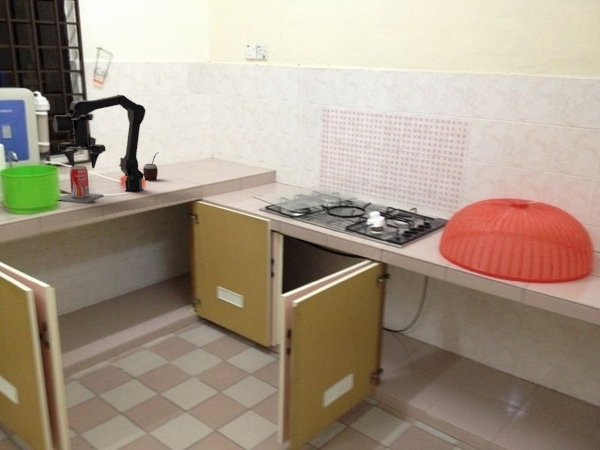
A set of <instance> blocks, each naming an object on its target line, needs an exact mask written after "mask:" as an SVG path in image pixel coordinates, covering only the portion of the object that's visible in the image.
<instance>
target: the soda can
mask: <svg viewBox="0 0 600 450" xmlns="http://www.w3.org/2000/svg"><path fill="white" fill-rule="evenodd" d="M88 171H89V170H88V168H87V166H86V165H85V166H84V165H74V166H73V167H72V166H70V169H69V178H70V179H69V181H70V191H71V194H72V196H73V197H74V198H86V197H88V196H89V193H90V187H89V185H90V183H89V172H88Z"/></svg>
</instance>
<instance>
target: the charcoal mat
mask: <svg viewBox="0 0 600 450" xmlns="http://www.w3.org/2000/svg"><path fill="white" fill-rule="evenodd" d="M60 197H61V199H60V200H61V201H60V202H69V203H78V204H89V203H91V202H93V201H95V200H97V199H100V198H102V197H104V194H103V193H102V194H100V193H90V192H89V196H88V197H86V198H74V197H73V196H72V194H71V193H70V192H69V193H68V194H66V195H63V196H60Z"/></svg>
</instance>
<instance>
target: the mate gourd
mask: <svg viewBox="0 0 600 450" xmlns="http://www.w3.org/2000/svg"><path fill="white" fill-rule="evenodd" d="M158 154H160V153H159V152H156V153H155V154H154V155H153V157H152V161H151V163H145V164H144V165H143V169H142V173H143V174H144V176H143V179H145V180H144V181H149V182H152V181H157V180H158V179H157V178H158V171H159V170H158V166H157V165H156V164H155V163H154V162H155V159H156V156H157V155H158Z"/></svg>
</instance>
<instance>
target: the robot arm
mask: <svg viewBox="0 0 600 450" xmlns="http://www.w3.org/2000/svg"><path fill="white" fill-rule="evenodd" d="M114 106H121V108H123V109H125V111H126V112H127V114H126V115H127V119H128V123H129V124H128V132H127V141H126V150H125V154H124V157H120V163H119V165H118V166H119V167H120V171H121V172H122V173H124V176H125V179H126V180H125V181H124V182H125V183H124V184H125V189H124V191H125V192H131V193H140V192H141V191H143V190H144V189H145V188H143V182H142V181H143V179H144V174H143V171H141V170H140V169H139V160H138V157H137V154H138V144H139V137H140V128H141V125H142V123H143V121H144V118H145V116H146V108H145V106H143V105H141V104H138V103H136V102H134V101H132V100H131V99H129V98H128V97H127V96H125V95H123V94H117V95H113V96H108V97H102V98H97V99H92V100H89V99H87V100H86V99H85V100H84V99H83V100H82V99H81V100H80V99H79V100H73V101H71V103H70V105H69V109H68V111H67V112H66V114H65V115H59V114H58V115H57V114H56V115H54V119H53V122H52V127H53V130H54V132H55V133H65V132H66V133H67V132H71V131H72V130H73V133H72V134H71V136H72V137H73V142H74V143H73V142H71V141H70V142H67V141H66V142H61V143H59V144H58V145H57V147H58V148H57V149H58V151H61V153H63V154H64V156H65V157H66V158H67V160H68V162H69V163H70V166H71V167H73V166H76V165H75V156H74V155H75V151H76V150H79V151H80V150H82V151H84V150H85V151H90V153H89V155H90V162H91V168H92V169H95V168H96V167H95V166H96V164H97V161H98V158H99V155H101V154H103V153H104V152H106V146H105V144H96V142H97V139H96V138H95V137H93V136H91V133H90V132H89V127H88V121H93V118H92V117H91V116H90V115H89V114H91V113H92V112H95V111H97V110H101V109H106V108H111V107H114Z"/></svg>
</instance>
